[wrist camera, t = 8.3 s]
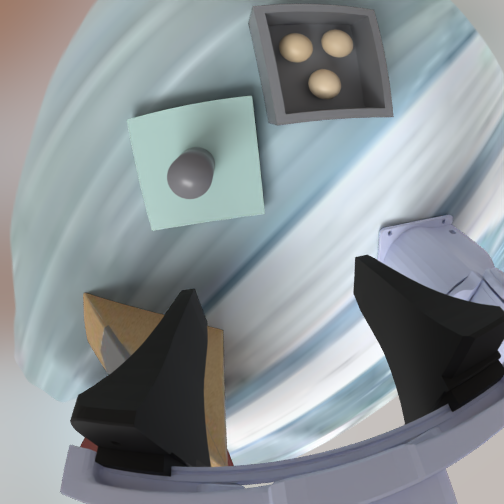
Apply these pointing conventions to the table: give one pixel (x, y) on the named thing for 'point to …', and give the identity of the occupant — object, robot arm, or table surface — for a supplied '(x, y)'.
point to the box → (320, 62)
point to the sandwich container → (132, 337)
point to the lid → (198, 162)
